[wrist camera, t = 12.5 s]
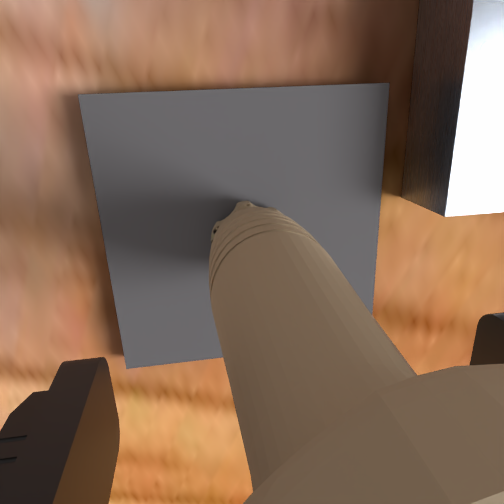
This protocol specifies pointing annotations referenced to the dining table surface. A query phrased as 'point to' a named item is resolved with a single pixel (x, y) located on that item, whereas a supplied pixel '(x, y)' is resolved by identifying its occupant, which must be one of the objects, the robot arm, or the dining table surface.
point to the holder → (457, 109)
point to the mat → (226, 193)
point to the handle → (340, 383)
